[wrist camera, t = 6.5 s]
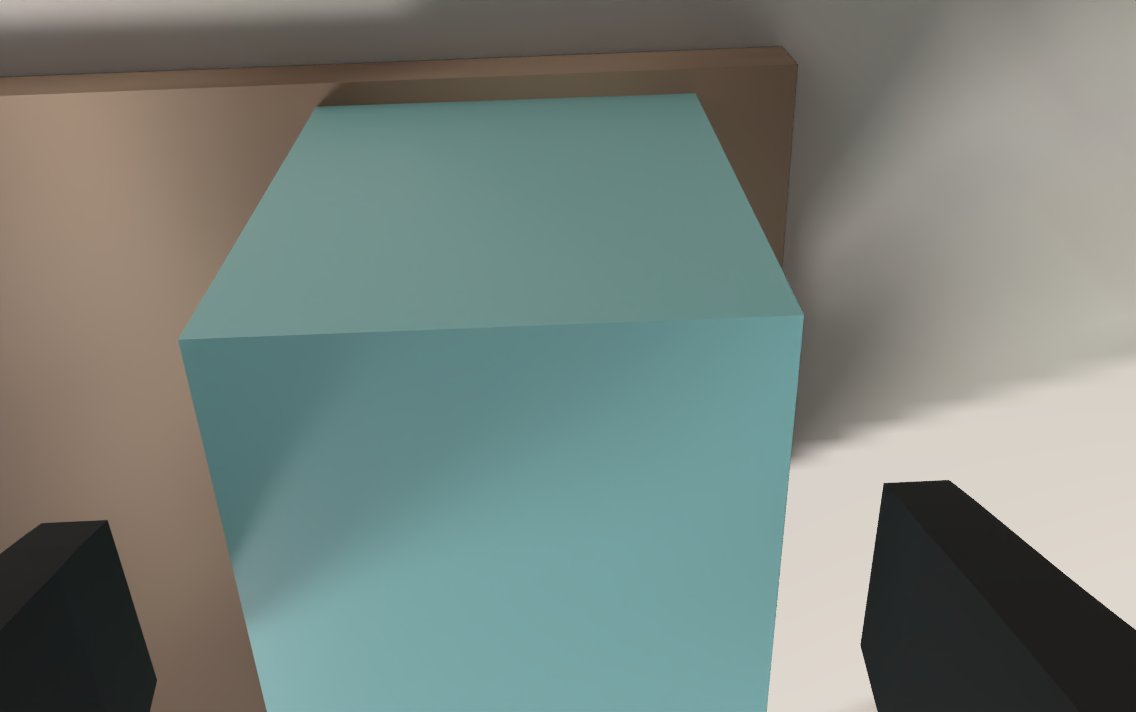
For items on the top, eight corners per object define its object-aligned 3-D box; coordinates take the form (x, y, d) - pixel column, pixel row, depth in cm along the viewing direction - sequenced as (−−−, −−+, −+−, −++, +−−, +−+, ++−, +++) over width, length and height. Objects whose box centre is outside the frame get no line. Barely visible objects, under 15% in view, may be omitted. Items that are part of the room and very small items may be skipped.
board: (-13, 688, 21) (-36, 728, 20) (-268, 88, 15) (-317, 108, 14) (740, 652, 21) (749, 690, 20) (782, 46, 15) (798, 64, 14)
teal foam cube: (362, 424, 17) (279, 764, 11) (316, 106, 14) (177, 340, 9) (684, 411, 17) (763, 743, 11) (695, 93, 15) (803, 315, 9)
